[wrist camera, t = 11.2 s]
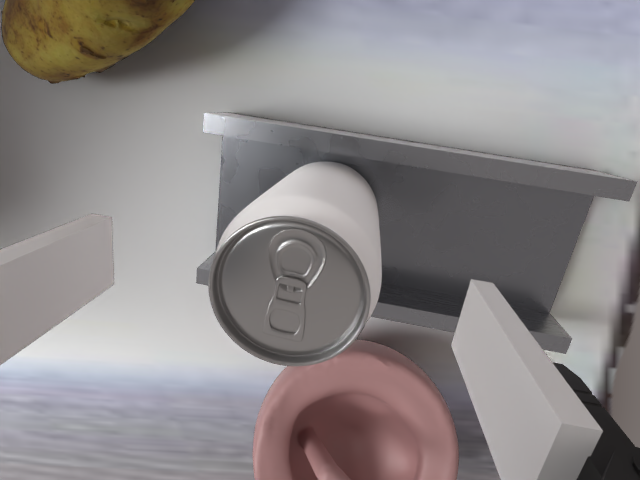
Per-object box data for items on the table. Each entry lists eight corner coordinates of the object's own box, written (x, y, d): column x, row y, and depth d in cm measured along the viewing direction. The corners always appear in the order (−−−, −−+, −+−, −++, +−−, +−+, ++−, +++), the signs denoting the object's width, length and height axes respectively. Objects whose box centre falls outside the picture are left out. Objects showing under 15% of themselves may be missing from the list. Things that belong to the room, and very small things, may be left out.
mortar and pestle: (467, 340, 27) (530, 490, 16) (402, 461, 31) (419, 645, 20) (304, 283, 27) (262, 394, 17) (261, 410, 31) (204, 567, 21)
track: (220, 259, 28) (196, 283, 24) (229, 112, 24) (204, 112, 21) (537, 318, 26) (566, 353, 22) (593, 169, 23) (637, 181, 19)
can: (389, 171, 23) (405, 226, 12) (365, 269, 25) (360, 395, 14) (284, 150, 24) (204, 184, 12) (269, 248, 26) (189, 354, 15)
